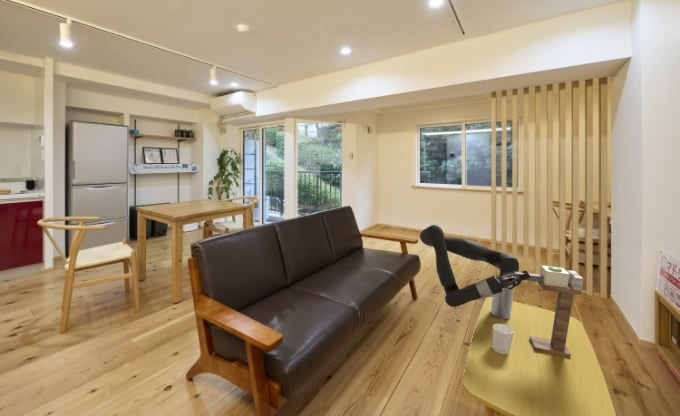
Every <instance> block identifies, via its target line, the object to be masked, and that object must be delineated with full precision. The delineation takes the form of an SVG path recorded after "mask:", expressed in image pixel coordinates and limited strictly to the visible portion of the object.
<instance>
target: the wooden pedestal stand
mask: <svg viewBox="0 0 680 416" xmlns="http://www.w3.org/2000/svg"><path fill="white" fill-rule="evenodd" d="M566 271H567V272H568V273H569V281H568V287H567V288H566V287H558V286H551V285H545V284H544V283H542V282H537V283H538V285H539V286H540V287H541V289H542V290H543V291H549V292H555V293H557V297H556V299H557V300H556V305H555V311H554V317H553V319H554V320H553V325H552V331H551V332H552V333H551V336H550V337H551V339H548V338H543V337H537V336H530V335H529V341H530V343H531V345H532V348H533V349H534V351H535V352H539V353H545V354H550V355H556V356H561V357H565V358H571V357H572V354H571V352H570V351H569V349H568V346H566V345H567V337H568V330H569V325H570V318H571V313H572V306H573V300H574V295H577V296H581V295H582V290H583V284H584V278H583V277H582V276H581V275H580V274H579V273H578V272H576V271H575V270H569V269H568V270H566Z"/></svg>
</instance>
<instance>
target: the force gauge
mask: <svg viewBox="0 0 680 416" xmlns="http://www.w3.org/2000/svg"><path fill="white" fill-rule="evenodd" d="M528 273H529V272H528ZM522 274H525V273H522V271H518V272H515V273H514V277H515V276H519V275H522ZM529 275H530V278H528V279H525V280H524V281H528V282H533V283H534V282H535V283H538V282H542V283H544V284H545V285H551V286H558V287H566V288H567V287H568V281H569V273H568V272H567V270H566V269H565V268H563V267H558V266H553V265H551V266H550V265H549V266H548V265H541V268H540V273H529Z"/></svg>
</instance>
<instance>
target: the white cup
mask: <svg viewBox="0 0 680 416" xmlns="http://www.w3.org/2000/svg"><path fill="white" fill-rule="evenodd" d="M514 331H515V330H514V329H513V328H512V327H511V326H510V325H507V324H504V323H494V324H492V334H491V335H492V336H491V338H492V339H491V342H492V343H491V348H492V350H493V351H494V352H495V353H497V354H501V355H509V353H510V351H511V347H512V342H513V337H514V334H515V333H514Z"/></svg>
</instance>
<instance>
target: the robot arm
mask: <svg viewBox="0 0 680 416" xmlns="http://www.w3.org/2000/svg"><path fill="white" fill-rule="evenodd" d="M419 238H420V241H421V242H422V243H423V244H424V245H426V246H427V247H428V246H429V247H432V248H434V253H435V264H436V265H435V268H436V272H437V276H438V279H439V281H440V284H441V286H442V287H443V289H444V293H445V298H444V299H445V303H446V305H448V306H449V307H452V308H456V307H459V306H463V305H465V304H467V303H470V302H472V301H476V300H480V299H483V298H488V297H492V298H491V300H492V302H491V308H490V314H491V315H492V316H493V317H495V318H497V319H501V320H509V319H510V318H511V316H512V307H513V299H514V291H515V288H516V287H518V286H519V285H521V284H522V281H526V280H525V279H528V278H530V275H529V272H528V271H527V270H522V271H521V272H522V273H525V274H522V275H519V276H515V277H514V273H515V272H520V270H519V269H520V263H519V260H518V259H517V258H516V257H514V256H513V255H511V254H509V253H507V252H503V251H500V250H499V251H498V250H494V249H491V248H488V247H486V246H484V245H482V244H480V243H478V242H475V241H473V240H470V239H467V238H461V237H451V236H446V235H445V233H444V231H443V229H442V228H441V227H440V226H439V225H437V224H432V225H429V226H427V227H426V228H424V229H423V230H422V231H421V232H420V233H419ZM448 252H449V253H452V254H454V255H457V256H460V257H462V258H465V259H468V260H471V261H475V262H476V261H477V262H478V261H479V262H484V263H487V264H489V265H492V266H493V267H495V268H497V269H498V270H499V275H497V276H496V275H492V276H489V277H486V278H484V279H481V280H478V281H477V282H473V283H471V284H468V285H466V286H464V287H462V288H459V286H458V283H457V281H456V277H455V274H454V271H453V269H452V265H451V262H450V260H449V254H448Z"/></svg>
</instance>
